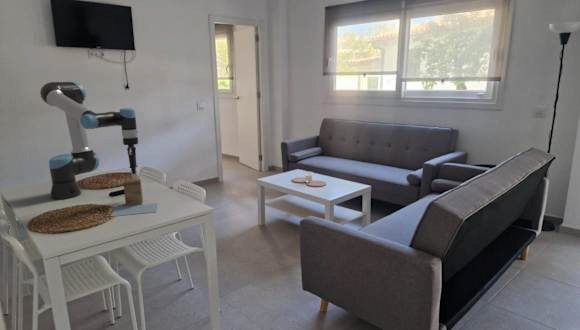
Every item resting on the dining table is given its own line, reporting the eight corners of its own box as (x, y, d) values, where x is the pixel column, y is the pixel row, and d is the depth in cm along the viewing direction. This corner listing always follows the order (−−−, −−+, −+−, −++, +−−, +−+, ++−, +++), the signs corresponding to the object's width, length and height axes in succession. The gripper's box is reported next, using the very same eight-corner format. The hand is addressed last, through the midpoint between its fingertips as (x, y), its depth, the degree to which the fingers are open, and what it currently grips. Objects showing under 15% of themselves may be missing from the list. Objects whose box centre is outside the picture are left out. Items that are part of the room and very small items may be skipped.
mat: (109, 207, 190) (109, 207, 190) (157, 203, 196) (157, 203, 196) (103, 217, 176) (103, 216, 176) (156, 212, 183) (156, 211, 183)
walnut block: (127, 202, 197) (124, 179, 194) (142, 201, 200) (140, 178, 197) (125, 205, 193) (123, 182, 190) (142, 204, 195) (139, 181, 192)
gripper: (136, 138, 193) (140, 181, 198) (138, 135, 205) (143, 175, 210) (120, 139, 190) (125, 182, 196) (124, 135, 203) (129, 176, 208)
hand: (134, 178), depth 203 cm, fingers closed
